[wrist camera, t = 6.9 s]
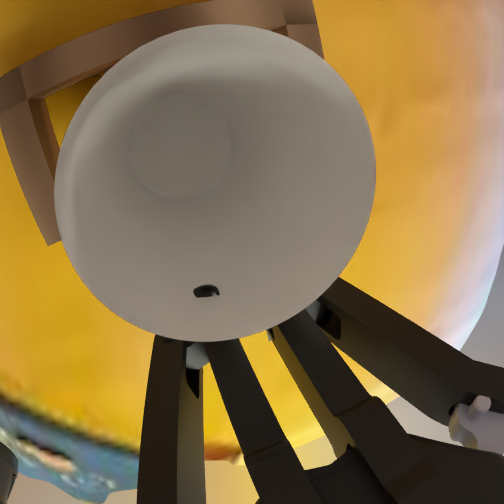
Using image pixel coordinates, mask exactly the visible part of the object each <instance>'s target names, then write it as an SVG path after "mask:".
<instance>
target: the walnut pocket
mask: <svg viewBox="0 0 504 504" xmlns="http://www.w3.org/2000/svg"><path fill="white" fill-rule="evenodd" d="M214 24H235V25H244V26H252V27H257V28H261V29H265V30H269V31H272V32H275V33H278V34H281V35H283V36H286V37H288V38H290V39H292V40H294V41H296V42H298V43H300V44H302V45H304V46H305V47H307V48H308V49H310V50H312V51H313V52H315V53H316V54H317V55H318V56H320V57H321V58H322V59H324V56H323V50H322V45H321V40H320V34H319V29H318V25H317V20H316V15H315V11H314V6H313V2H312V0H212V1H206V2H200V3H194V4H188V5H183V6H178V7H174V8H169V9H165V10H161V11H157V12H153V13H149V14H145V15H141V16H138V17H134V18H131V19H128V20H124V21H121V22H118V23H115V24H112V25H109V26H106V27H104V28H101V29H98V30H95V31H93V32H90V33H88V34H85V35H83V36H80V37H78V38H75V39H73V40H71V41H68V42H66V43H64V44H61V45H59V46H57V47H55V48H53V49H51V50H49V51H47V52H45V53H43V54H41V55H39V56H37V57H35V58H33V59H31V60H29V61H27V62H25V63H24V64H22V65H20V66H18V67H17V68H15V69H13V70H11V71H10V72H8V73H6V74H5V75H3V76H1V77H0V127H1V131H2V134H3V137H4V140H5V144H6V147H7V150H8V153H9V156H10V158H11V161H12V164H13V167H14V170H15V172H16V175H17V178H18V180H19V183H20V185H21V188H22V190H23V193H24V195H25V198H26V200H27V202H28V205H29V207H30V209H31V212H32V214H33V216H34V218H35V220H36V223H37V225H38V227H39V229H40V231H41V233H42V235H43V237H44V239H45V241H46V243H47V245H48V246H49V245H52V244H54V243H56V242H58V241H61V236H60V232H59V229H58V225H57V219H56V212H55V200H54V185H55V172H56V166H57V161H58V156H59V152H60V149H59V146H58V143H57V140H56V137H55V134H54V131H53V127H52V124H51V121H50V117H49V114H48V110H47V107H46V103H45V99H44V98H45V97H47V96H49V95H51V94H54V93H56V92H58V91H60V90H62V89H64V88H66V87H69V86H71V85H73V84H75V83H78V82H80V81H82V80H85V79H87V78H90V77H92V76H95V75H97V74H100V73H102V72H105V71H108V70H109V69H110V68H112V67H113V66H114V65H115V64H116V63H118V62H119V61H120V60H121V59H123V58H124V57H125V56H127V55H128V54H130V53H131V52H133V51H134V50H136V49H138V48H139V47H141V46H143V45H145V44H147V43H149V42H151V41H153V40H155V39H157V38H159V37H162V36H164V35H167V34H170V33H173V32H176V31H179V30H183V29H187V28H192V27H196V26H204V25H214Z"/></svg>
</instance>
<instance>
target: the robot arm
mask: <svg viewBox="0 0 504 504" xmlns="http://www.w3.org/2000/svg"><path fill="white" fill-rule="evenodd" d="M211 291H212V292H214V293H215V294H216V295H217V296H218V295H220V293H219V290H218V288H217V287H216V286H214V285H202V286H199V287H197V288H195V289H194V290H193V293H194V295H195V296H196V298H200V297H211V296H213V294H212V292H211ZM266 331H267V335H268V339H269V341H271V340H272V342H273V343H274V345H275V347H276V349H277V351H278V352H279V354H280V356H281V358H282V359H283V361H284V363H285V365H286V367H287V368H288V370H289V372H290V374H291V375H292V377H293V379H294V381H295V382H296V384H297V386H298V388H299V389H300V391H301V393H302V395H303V396H304V398H305V400H306V402H307V403H308V405H309V407H310V409H311V410H312V412H313V414H314V415H315V417H316V419H317V421H318V422H319V424H320V426H321V427H322V429H323V431H324V433H325V434H326V436H327V438H328V439H329V441H330V443H331V445H332V447H333V450H334V453H335V455H336V457H337V460H335V461H334V462H333V463H332V464H330V465H327V466H323V467H318V468H314V469H309V470H304V469H303V467H302V465H301V463H300V461H299V459H298V457H297V455H296V454H295V452H294V450H293V448H292V446H291V444H290V442H289V441H288V439H287V438H286V436H285V434H284V433H283V431H282V429H281V427H280V425H279V423H278V421H277V418H276V416H275V414H274V412H273V410H272V408H271V406H270V404H269V402H268V400H267V398H266V396H265V394H264V392H263V390H262V388H261V386H260V383H259V381H258V379H257V377H256V375H255V373H254V371H253V369H252V366H251V364H250V362H249V360H248V358H247V356H246V354H245V351H244V349H243V347H242V345H241V343H240V340H239V338H237V339H231V340H224V341H213V342H194V341H184V340H178V339H172V338H167V337H164V336H160V335H157V334H156V335H155V338H154V343H153V350H152V356H151V363H150V369H149V376H148V383H147V391H146V399H145V407H144V416H143V425H142V434H141V445H140V457H139V470H138V486H137V504H206V491H205V468H204V432H203V368H202V367H203V366H204V365H206V364H207V363H209V362H210V364H211V367H212V370H213V373H214V376H215V379H216V382H217V385H218V388H219V391H220V393H221V396H222V399H223V402H224V405H225V407H226V410H227V413H228V415H229V418H230V421H231V423H232V426H233V429H234V431H235V434H236V437H237V439H238V442H239V444H240V447H241V449H242V452H243V455H244V461H245V464H246V467H247V469H248V472H249V474H250V476H251V479H252V481H253V484H254V486H255V488H256V491H257V493H258V495H259V497H260V498H259V499H258V500H257V502H256V503H255V504H504V456H503V453H504V368H502V367H498V366H494V365H490V364H486V363H482V362H479V361H475V360H472V359H471V358H469V357H468V356H466V355H464V354H463V353H461V352H460V351H458V350H457V349H455V348H453V347H452V346H450V345H449V344H447V343H446V342H444V341H442V340H441V339H439V338H438V337H436V336H434V335H433V334H431V333H430V332H428V331H426V330H425V329H423V328H422V327H420V326H418V325H417V324H415V323H414V322H412V321H410V320H409V319H407V318H405V317H404V316H402V315H401V314H399V313H397V312H396V311H394V310H392V309H391V308H389V307H388V306H386V305H384V304H383V303H381V302H379V301H378V300H376V299H374V298H373V297H371V296H370V295H368V294H366V293H365V292H363V291H361V290H360V289H358V288H356V287H355V286H353V285H351V284H350V283H348V282H346V281H345V280H343V279H341V278H340V277H338V278H337V279H336V280H335V281H334V282H333V283H332V284H331V286H330V287H329V288H328V289H327V290H326V291H325V292H324V293H323V294H322V295H320V296H319V297H318V298H317V299H316V300H315V301H314V302H312V303H311V304H310V305H309V306H307V307H306V308H305V309H303V310H302V311H300V312H299V313H297V314H296V315H294V316H293V317H291V318H289V319H288V320H286V321H284V322H282V323H280V324H278V325H276V326H274V327H271V328H269V329H267V330H266ZM331 343H333V344H334V345H335V346H336V347H338V348H339V349H340V350H342V351H343V352H344V353H345V354H347V355H348V356H349V357H351V358H352V359H353V360H354V361H356V362H357V363H358V364H360V365H361V366H362V367H363V368H365V369H366V370H367V371H369V372H370V373H371V374H372V375H374V376H375V377H376V378H378V379H379V380H380V381H382V382H383V383H384V384H385V385H387V386H388V387H389V388H391V389H392V390H393V391H395V392H396V393H397V394H399V395H400V396H401V397H403V398H404V399H405V400H407V401H408V402H409V403H410V404H412V405H413V406H415V407H416V408H417V409H418V410H420V411H421V412H422V413H424V414H425V415H427V416H428V417H430V418H431V419H433V420H435V421H437V422H439V423H441V424H443V425H446V426H448V427H449V432H450V437H451V439H452V440H453V441H459V442H460V443H462V444H463V446H464V447H463V446H458V445H453V444H448V443H444V442H440V441H436V440H432V439H427V438H424V437H419V436H416V435H412V434H407V433H406V431H405V430H404V429H403V427H402V426H401V425H400V423H399V422H398V421H397V419H396V418H395V417H394V416H393V414H392V413H391V411H390V410H389V409H388V408H387V406H386V405H385V403H384V402H383V401H382V400H381V399H380V398H378V397H377V396H371V395H370V394H369V393H368V392H367V391H366V389H365V388H364V387H363V385H362V384H361V383H360V381H359V380H358V379H357V377H356V376H355V375H354V373H353V372H352V370H351V369H350V368H349V366H348V365H347V364H346V362H345V361H344V360H343V358H342V357H341V356H340V354H339V353H338V352H337V350H336V349H335V348H334V346H333V345H332V344H331ZM17 474H18V460H17V458H16V457H15V455H14V454H13V453H12V452H11V451H10V450H9V449H8V448H6V447H5V446H4V445H2V444H1V443H0V504H7V500H8V498H9V495H10V492H11V490H12V487H13V484H14V482H15V479H16V478H17Z"/></svg>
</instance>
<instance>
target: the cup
mask: <svg viewBox="0 0 504 504" xmlns="http://www.w3.org/2000/svg"><path fill="white" fill-rule="evenodd" d="M375 183H376V162H375V151H374V146H373V141H372V136H371V133H370V129H369V126H368V123H367V120H366V118H365V115H364V113H363V110H362V108H361V106H360V104H359V103H358V101H357V99H356V97H355V95H354V94H353V92H352V91H351V89H350V88H349V86H348V85H347V84H346V82H345V81H344V80H343V79H342V77H341V76H340V75H339V74H338V73H337V72H336V71H335V70H334V69H333V68H332V67H331V66H330V65H329V64H328V63H327V62H326V61H325V60H324V59H322V58H321V57H320V56H318V55H317V54H316V53H315V52H313V51H312V50H310V49H308V48H307V47H305V46H304V45H302V44H300V43H298V42H296V41H294V40H292V39H290V38H288V37H286V36H283V35H281V34H278V33H275V32H272V31H269V30H265V29H261V28H257V27H252V26H244V25H235V24H214V25H204V26H196V27H192V28H187V29H183V30H179V31H176V32H173V33H170V34H167V35H164V36H162V37H159V38H157V39H155V40H153V41H151V42H149V43H147V44H145V45H143V46H141V47H139V48H138V49H136V50H134V51H133V52H131V53H130V54H128V55H127V56H125V57H124V58H123V59H121V60H120V61H119V62H118V63H116V64H115V65H114V66H113V67H112V68H110V69H109V70H108V71H107V72H106V73H105V74H104V75H103V76H102V77H101V78H100V79H99V81H98V82H97V83H96V84H95V85H94V86H93V87H92V89H91V90H90V91H89V93H88V94H87V95H86V97H85V98H84V99H83V101H82V102H81V104H80V106H79V107H78V109H77V111H76V112H75V114H74V116H73V118H72V120H71V122H70V124H69V127H68V129H67V131H66V133H65V136H64V139H63V142H62V145H61V148H60V152H59V156H58V161H57V166H56V172H55V185H54V200H55V212H56V219H57V225H58V229H59V232H60V236H61V240H62V243H63V245H64V248H65V250H66V253H67V255H68V257H69V259H70V261H71V263H72V265H73V267H74V269H75V271H76V272H77V274H78V275H79V277H80V278H81V280H82V281H83V282H84V284H85V285H86V286H87V287H88V289H89V290H90V291H91V292H92V293H93V295H94V296H95V297H96V298H97V299H99V300H100V301H101V302H102V303H103V304H104V305H105V306H106V307H107V308H109V309H110V310H111V311H112V312H114V313H115V314H116V315H118V316H119V317H121V318H123V319H124V320H126V321H127V322H129V323H131V324H133V325H135V326H137V327H139V328H141V329H143V330H146V331H149V332H151V333H154V334H157V335H160V336H164V337H167V338H172V339H178V340H184V341H194V342H213V341H224V340H231V339H237V338H241V337H245V336H249V335H252V334H256V333H259V332H262V331H264V330H267V329H269V328H271V327H274V326H276V325H278V324H280V323H282V322H284V321H286V320H288V319H289V318H291V317H293V316H294V315H296V314H297V313H299V312H300V311H302V310H303V309H305V308H306V307H307V306H309V305H310V304H311V303H312V302H314V301H315V300H316V299H317V298H318V297H319V296H320V295H322V294H323V293H324V292H325V291H326V290H327V289H328V288H329V287H330V286H331V284H332V283H333V282H334V281H335V280H336V279H337V278H338V276H339V275H340V274H341V272H342V271H343V270H344V268H345V267H346V266H347V264H348V262H349V261H350V259H351V258H352V256H353V254H354V253H355V251H356V249H357V247H358V245H359V243H360V241H361V239H362V236H363V234H364V232H365V229H366V226H367V223H368V221H369V217H370V213H371V209H372V205H373V200H374V194H375ZM202 285H214V286H216V287H217V288H218V290H219V293H220V295H218V296H217V295H216V294H215V293H214V292H212V291H211V292H212V294H213V296H211V297H200V298H196V296H195V295H194V293H193V290H194V289H195V288H197V287H199V286H202Z"/></svg>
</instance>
